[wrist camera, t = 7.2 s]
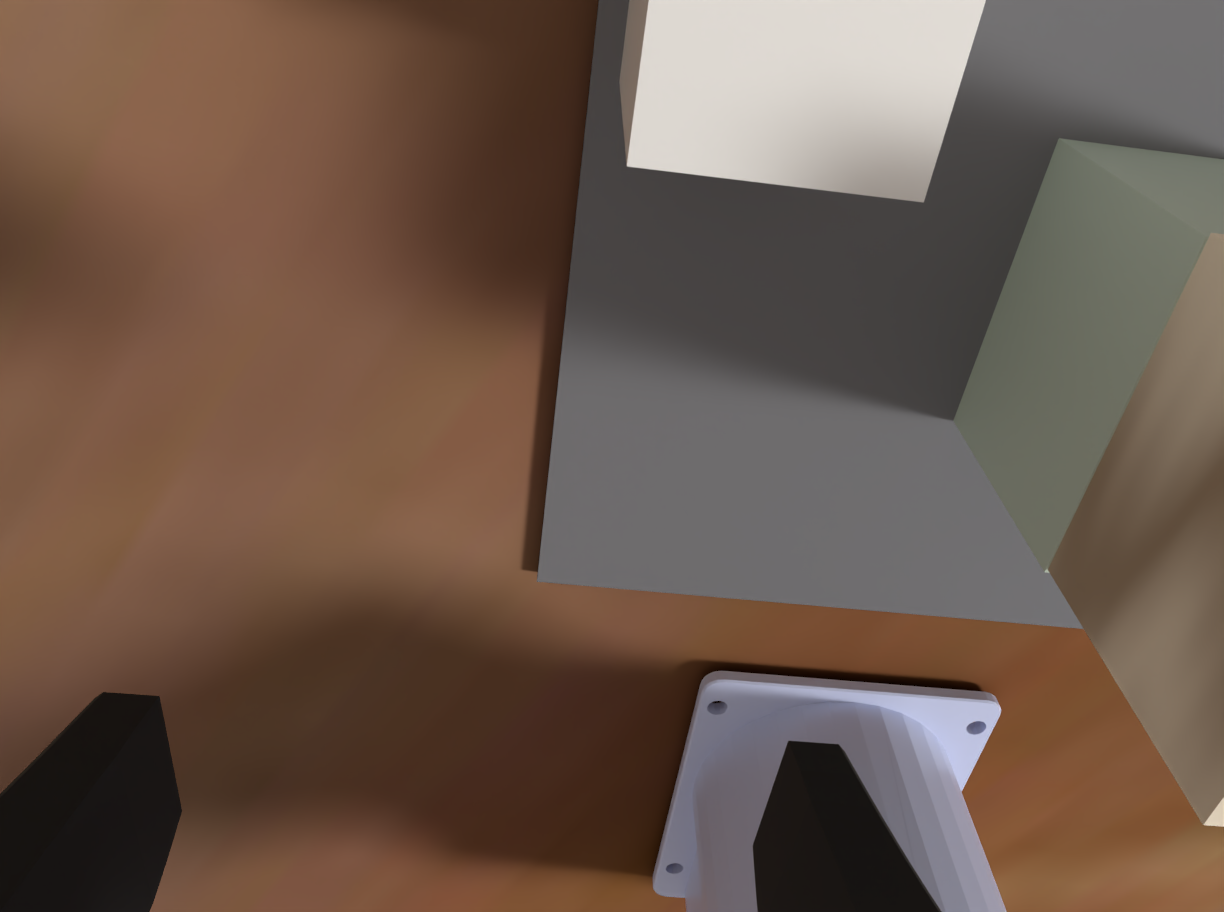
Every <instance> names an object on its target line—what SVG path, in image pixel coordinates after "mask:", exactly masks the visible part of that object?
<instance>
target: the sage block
mask: <svg viewBox="0 0 1224 912" xmlns="http://www.w3.org/2000/svg"><path fill="white" fill-rule="evenodd" d="M1211 233H1218V234H1224V159H1217V158H1209V157H1201V156H1193V155H1186V154H1178V153H1170V152H1162V151H1155V150H1147V149H1139V148H1131V147H1123V146H1116V145H1108V144H1100V143H1092V142H1084V141H1077V140H1069V139H1061V138H1059V139H1058V142H1057V144H1056V147H1055V150H1054V152H1053V155H1052V158H1051V160H1050V163H1049V166H1048V168H1047V171H1046V174H1045V176H1044V179H1043V182H1042V184H1041V187H1040V190H1039V193H1038V195H1037V198H1036V201H1035V203H1034V206H1033V209H1032V211H1031V214H1030V217H1029V219H1028V222H1027V225H1026V227H1025V230H1024V233H1023V235H1022V238H1021V241H1020V243H1019V246H1018V249H1017V251H1016V254H1015V257H1014V260H1013V262H1012V265H1011V268H1010V270H1009V273H1008V276H1007V278H1006V281H1005V284H1004V286H1003V289H1002V292H1001V294H1000V297H999V300H998V302H997V305H996V308H995V310H994V313H993V316H992V319H991V321H990V324H989V327H988V329H987V332H986V335H985V337H984V340H983V343H982V345H981V348H980V351H979V353H978V356H977V359H976V361H975V364H974V367H973V369H972V372H971V375H970V378H969V380H968V383H967V386H966V388H965V391H964V394H963V396H962V399H961V402H960V404H959V407H958V410H957V412H956V415H955V418H954V420H953V421H954V423H955V425H956V426H957V428H958V430H959V431H960V433H961V435H962V436H963V438H964V440H965V441H966V443H967V445H968V446H969V448H970V450H971V451H972V453H973V455H974V456H975V458H976V460H977V461H978V463H979V465H980V466H981V468H982V470H983V471H984V473H985V474H986V476H987V478H988V479H989V481H990V483H991V484H992V486H993V488H994V489H995V491H996V493H997V494H998V496H999V498H1000V499H1001V501H1002V503H1003V504H1004V506H1005V508H1006V509H1007V511H1008V513H1009V514H1010V516H1011V518H1012V519H1013V521H1014V523H1015V524H1016V526H1017V528H1018V529H1019V531H1020V533H1021V534H1022V536H1023V538H1024V539H1025V541H1026V543H1027V544H1028V546H1029V548H1030V549H1031V551H1032V553H1033V554H1034V556H1035V558H1036V559H1037V561H1038V562H1039V564H1040V566H1041V567H1042V569H1043V571H1044V572H1046V573H1049V571H1048V568H1049V566H1050V564H1051V562H1052V560H1053V558H1054V556H1055V554H1056V551H1057V549H1058V547H1059V545H1060V543H1061V541H1062V539H1063V537H1064V535H1065V533H1066V531H1067V529H1068V527H1069V525H1070V523H1071V521H1072V518H1073V516H1074V514H1075V512H1076V510H1077V508H1078V506H1079V504H1080V502H1081V500H1082V498H1083V496H1084V494H1085V492H1086V490H1087V488H1088V485H1089V483H1090V481H1091V479H1092V477H1093V475H1094V473H1095V471H1096V469H1097V467H1098V465H1099V463H1100V461H1101V459H1102V457H1103V455H1104V452H1105V450H1106V448H1107V446H1108V444H1109V442H1110V440H1111V438H1112V436H1113V434H1114V432H1115V430H1116V428H1117V426H1118V424H1119V422H1120V419H1121V417H1122V415H1123V413H1124V411H1125V409H1126V407H1127V405H1128V403H1129V401H1130V399H1131V397H1132V395H1133V393H1134V391H1135V389H1136V386H1137V384H1138V382H1139V380H1140V378H1141V376H1142V374H1143V372H1144V370H1145V368H1146V366H1147V364H1148V362H1149V360H1150V358H1151V356H1152V353H1153V351H1154V349H1155V347H1156V345H1157V343H1158V341H1159V339H1160V337H1161V335H1162V333H1163V331H1164V329H1165V327H1166V325H1167V323H1168V320H1169V318H1170V316H1171V314H1172V312H1173V310H1174V308H1175V306H1176V304H1177V302H1178V300H1179V298H1180V296H1181V294H1182V292H1183V290H1184V287H1185V285H1186V283H1187V281H1188V279H1189V277H1190V275H1191V273H1192V271H1193V269H1194V267H1195V265H1196V263H1197V261H1198V259H1199V257H1200V254H1201V252H1202V250H1203V248H1204V246H1205V244H1206V242H1207V240H1208V238H1209V236H1210V234H1211Z"/></svg>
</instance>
